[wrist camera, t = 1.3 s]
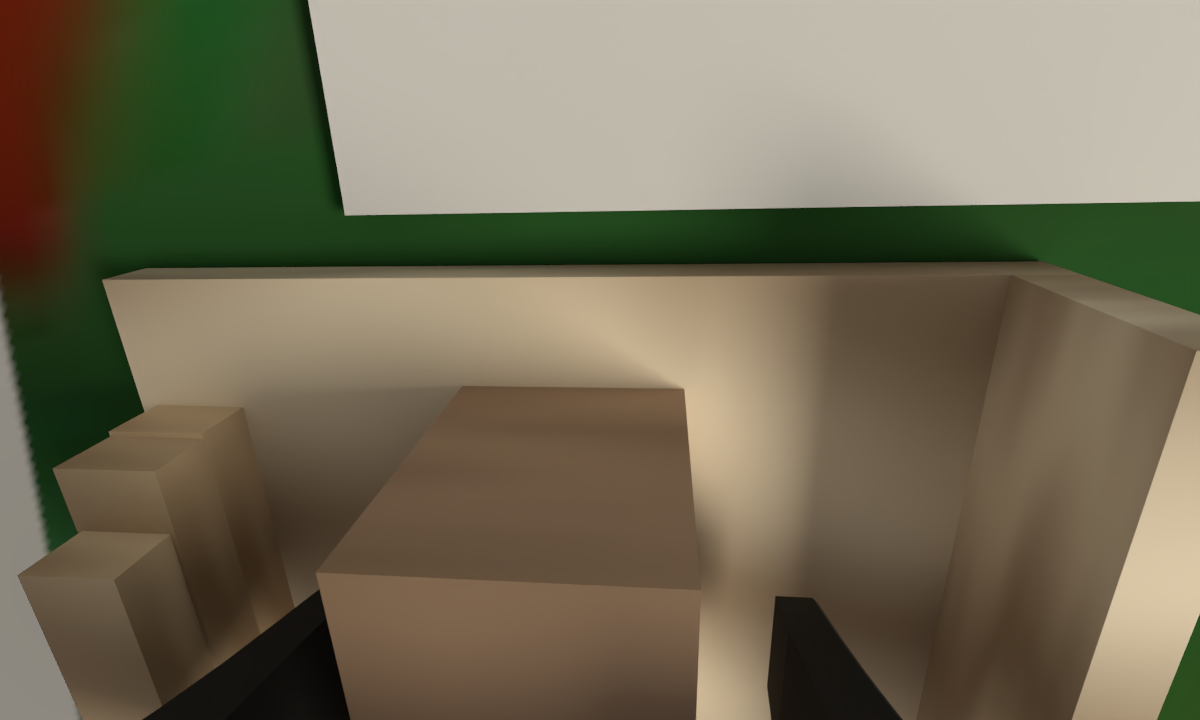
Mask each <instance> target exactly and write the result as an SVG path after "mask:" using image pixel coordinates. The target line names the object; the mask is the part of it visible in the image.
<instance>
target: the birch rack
mask: <svg viewBox="0 0 1200 720" xmlns="http://www.w3.org/2000/svg"><path fill="white" fill-rule="evenodd" d="M102 281H103V285H104V288H105V291H106V294H107V297H108V300H109V303H110V306H111V309H112V312H113V316H114V319H115V322H116V325H117V328H118V331H119V334H120V337H121V340H122V343H123V347H124V350H125V353H126V356H127V359H128V362H129V365H130V368H131V371H132V375H133V378H134V381H135V384H136V387H137V390H138V393H139V396H140V399H141V402H142V406H143V409H144V412H146V411H148V410H149V409H151V408H153V407H155V406H209V407H243V410H244V414H245V417H246V421H247V425H248V429H249V433H250V437H251V441H252V444H253V448H254V452H255V456H256V460H257V464H258V468H259V472H260V475H261V479H262V483H263V487H264V491H265V495H266V499H267V502H268V506H269V510H270V514H271V518H272V522H273V526H274V530H275V533H276V537H277V541H278V545H279V549H280V553H281V557H282V560H283V564H284V568H285V572H286V576H287V580H288V584H289V588H290V591H291V595H292V599H293V603H294V607H297V606H298V605H299V604H300V603H302V602H303V601H304V600H306V599H307V598H308V597H310V596H311V595H312V594H314V593H315V592H316V591H317V590H319V585H318V580H317V576H316V571H317V570H318V569H319V568H320V566H321V565H322V564H323V563H324V561H325V560H326V559H327V557H328V556H329V555H330V554H331V552H332V551H333V550H334V549H335V547H336V546H337V545H338V544H339V542H340V541H341V540H342V538H343V537H344V536H345V535H346V533H347V532H348V531H349V530H350V528H351V527H352V526H353V524H354V523H355V522H356V521H357V519H358V518H359V517H360V516H361V514H362V513H363V512H364V511H365V509H366V508H367V507H368V505H369V504H370V503H371V502H372V500H373V499H374V498H375V497H376V495H377V494H378V493H379V491H380V490H381V489H382V488H383V486H384V485H385V484H386V483H387V481H388V480H389V479H390V477H391V476H392V475H393V474H394V472H395V471H396V470H397V469H398V467H399V466H400V465H401V464H402V462H403V461H404V460H405V458H406V457H407V456H408V455H409V453H410V452H411V451H412V450H413V448H414V447H415V446H416V444H417V443H418V442H419V441H420V439H421V438H422V437H423V436H424V434H425V433H426V432H427V431H428V429H429V428H430V427H431V425H432V424H433V423H434V422H435V420H436V419H437V418H438V417H439V415H440V414H441V413H442V411H443V410H444V409H445V408H446V406H447V405H448V404H449V403H450V401H451V400H452V399H453V397H454V396H455V395H456V394H457V392H458V391H459V390H460V389H461V387H462V386H502V387H580V388H658V389H684V391H685V403H686V415H687V427H688V439H689V451H690V463H691V475H692V488H693V500H694V512H695V524H696V536H697V548H698V560H699V572H700V584H701V604H700V630H699V656H698V682H697V708H696V720H771V714H770V706H769V698H768V690H767V681H768V670H769V660H770V649H771V638H772V627H773V617H774V606H775V596H786V597H807V598H813V599H814V600H815V601H816V602H817V603H818V604H819V605H820V607H821V608H822V610H823V612H824V613H825V615H826V616H827V618H828V619H829V621H830V622H831V623H832V625H833V626H834V628H835V629H836V631H837V632H838V634H839V635H840V637H841V638H842V639H843V641H844V642H845V644H846V645H847V647H848V648H849V649H850V651H851V652H852V654H853V655H854V656H855V658H856V659H857V661H858V662H859V663H860V665H861V666H862V667H863V669H864V670H865V671H866V673H867V674H868V676H869V677H870V678H871V680H872V681H873V682H874V684H875V685H876V686H877V687H878V689H879V690H880V691H881V693H882V694H883V695H884V696H885V698H886V699H887V700H888V701H889V703H890V704H891V705H892V707H893V708H894V709H895V710H896V712H897V713H898V714H899V716H900V717H901V718H902V719H903V720H1157V718H1158V715H1159V713H1160V710H1161V708H1162V705H1163V703H1164V700H1165V698H1166V695H1167V693H1168V690H1169V688H1170V686H1171V683H1172V681H1173V678H1174V676H1175V673H1176V671H1177V668H1178V666H1179V663H1180V661H1181V658H1182V656H1183V654H1184V651H1185V649H1186V646H1187V644H1188V641H1189V639H1190V636H1191V634H1192V631H1193V629H1194V626H1195V624H1196V622H1197V619H1198V617H1199V614H1200V315H1198V314H1195V313H1192V312H1189V311H1186V310H1184V309H1181V308H1178V307H1175V306H1172V305H1169V304H1166V303H1163V302H1160V301H1157V300H1154V299H1151V298H1148V297H1145V296H1143V295H1140V294H1137V293H1134V292H1131V291H1128V290H1125V289H1122V288H1119V287H1116V286H1113V285H1110V284H1107V283H1105V282H1102V281H1099V280H1096V279H1093V278H1090V277H1087V276H1084V275H1081V274H1078V273H1075V272H1072V271H1069V270H1066V269H1064V268H1061V267H1058V266H1055V265H1052V264H1049V263H1046V262H1043V261H1024V262H894V263H763V264H633V265H502V266H372V267H241V268H145V269H141V270H137V271H134V272H130V273H126V274H122V275H118V276H115V277H111V278H107V279H103V280H102Z"/></svg>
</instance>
